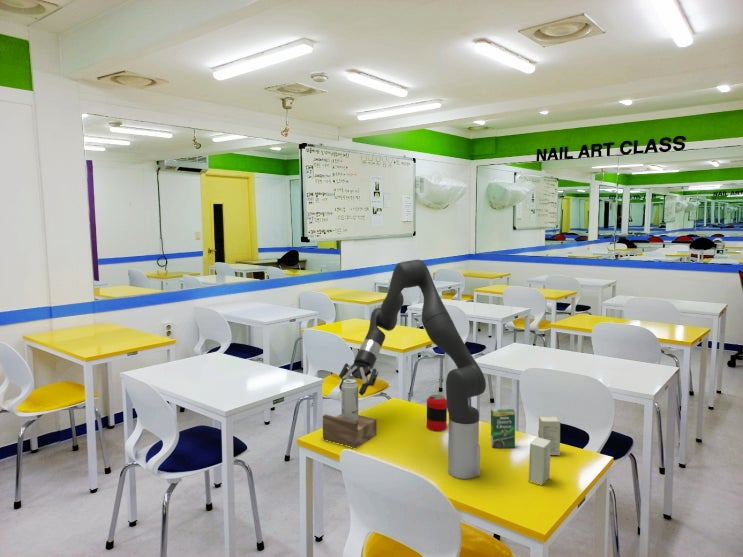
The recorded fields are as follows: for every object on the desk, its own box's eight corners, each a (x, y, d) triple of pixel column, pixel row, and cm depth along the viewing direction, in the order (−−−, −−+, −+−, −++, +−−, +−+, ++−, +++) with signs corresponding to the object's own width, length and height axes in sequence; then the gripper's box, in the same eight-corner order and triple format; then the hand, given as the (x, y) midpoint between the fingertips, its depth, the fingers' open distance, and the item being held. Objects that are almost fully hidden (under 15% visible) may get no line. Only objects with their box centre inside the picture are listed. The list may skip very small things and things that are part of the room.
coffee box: (491, 448, 178) (492, 411, 176) (489, 445, 180) (490, 408, 179) (515, 448, 178) (516, 411, 176) (512, 445, 181) (513, 408, 179)
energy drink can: (356, 425, 183) (356, 384, 181) (339, 423, 184) (339, 382, 182) (359, 418, 189) (359, 379, 187) (343, 417, 190) (343, 378, 188)
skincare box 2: (536, 474, 159) (537, 436, 158) (550, 478, 156) (551, 440, 155) (527, 482, 154) (529, 443, 153) (542, 486, 152) (543, 447, 150)
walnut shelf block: (345, 427, 196) (345, 404, 195) (376, 435, 189) (376, 411, 188) (322, 440, 184) (322, 415, 183) (355, 449, 177) (355, 423, 176)
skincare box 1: (556, 451, 176) (558, 416, 174) (560, 456, 171) (561, 421, 170) (537, 450, 176) (538, 415, 175) (540, 455, 172) (541, 420, 171)
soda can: (422, 426, 198) (423, 395, 196) (438, 422, 201) (439, 392, 200) (434, 432, 191) (434, 401, 190) (450, 429, 194) (451, 398, 193)
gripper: (348, 346, 195) (330, 383, 187) (380, 351, 188) (363, 390, 179) (356, 357, 200) (339, 393, 192) (387, 362, 193) (371, 400, 184)
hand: (350, 392), depth 185 cm, fingers open, 8 cm apart
